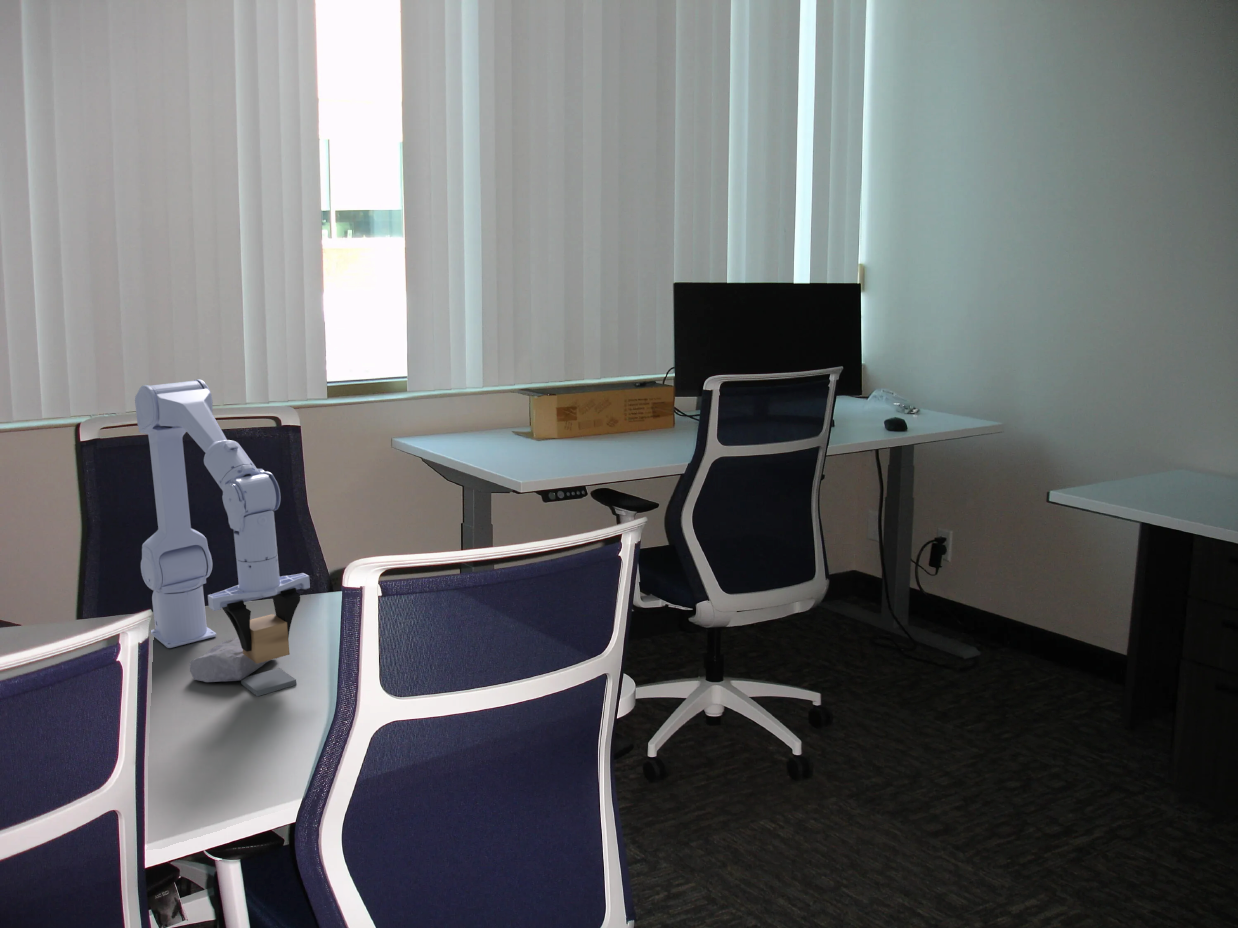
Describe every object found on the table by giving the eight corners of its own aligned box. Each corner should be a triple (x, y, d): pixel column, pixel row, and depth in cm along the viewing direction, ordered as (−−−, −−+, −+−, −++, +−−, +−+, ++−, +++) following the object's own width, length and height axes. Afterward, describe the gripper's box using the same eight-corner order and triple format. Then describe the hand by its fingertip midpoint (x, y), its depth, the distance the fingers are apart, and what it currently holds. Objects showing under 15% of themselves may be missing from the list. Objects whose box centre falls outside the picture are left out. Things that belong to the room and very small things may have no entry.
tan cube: (243, 653, 156) (240, 621, 155) (275, 644, 159) (272, 613, 158) (256, 663, 152) (253, 631, 151) (289, 654, 155) (286, 622, 154)
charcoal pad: (241, 683, 157) (240, 678, 157) (279, 672, 161) (279, 667, 161) (257, 696, 153) (256, 691, 152) (296, 684, 156) (296, 679, 156)
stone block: (188, 693, 157) (244, 680, 155) (178, 663, 157) (234, 649, 154) (233, 666, 169) (286, 654, 166) (224, 638, 168) (277, 625, 166)
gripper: (217, 573, 145) (227, 665, 148) (316, 551, 154) (323, 638, 157) (199, 562, 150) (208, 651, 153) (295, 542, 159) (302, 626, 162)
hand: (265, 644), depth 155 cm, fingers closed on tan cube, 5 cm apart
